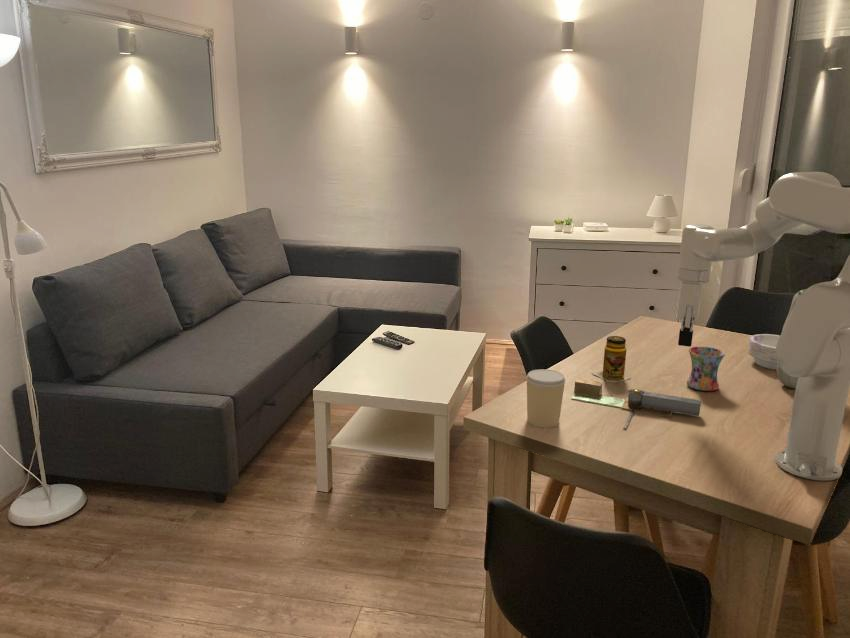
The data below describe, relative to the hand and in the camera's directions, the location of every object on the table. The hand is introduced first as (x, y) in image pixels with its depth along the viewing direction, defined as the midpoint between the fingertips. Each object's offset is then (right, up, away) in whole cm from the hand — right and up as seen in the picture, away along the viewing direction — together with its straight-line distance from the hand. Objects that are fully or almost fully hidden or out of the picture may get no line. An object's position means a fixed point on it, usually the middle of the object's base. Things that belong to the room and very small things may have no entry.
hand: (684, 344), depth 179 cm
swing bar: (-5, -16, 0) cm, 17 cm away
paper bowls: (+41, -8, +36) cm, 55 cm away
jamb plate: (-12, -18, -3) cm, 22 cm away
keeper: (-20, -15, +8) cm, 26 cm away
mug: (+12, -13, +18) cm, 25 cm away
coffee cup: (-37, -19, -6) cm, 42 cm away
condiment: (-12, -10, +25) cm, 30 cm away
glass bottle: (+38, -13, +18) cm, 44 cm away
